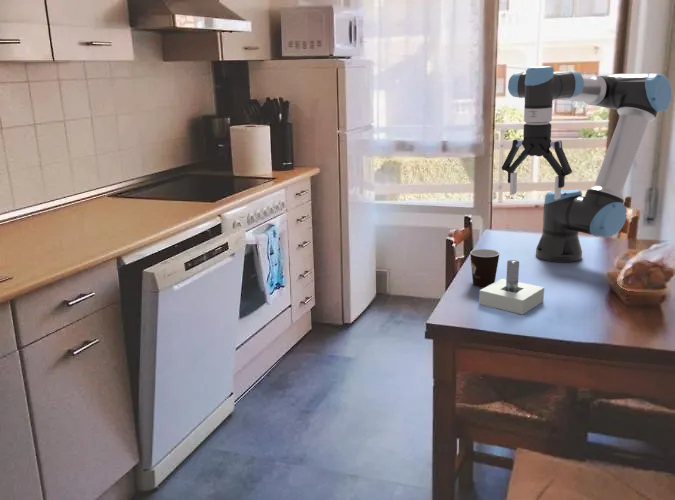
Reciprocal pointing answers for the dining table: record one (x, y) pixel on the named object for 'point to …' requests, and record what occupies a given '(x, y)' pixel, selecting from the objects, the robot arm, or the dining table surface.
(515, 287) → the peg
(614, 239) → the dining table surface
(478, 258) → the coffee mug
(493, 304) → the hole block
